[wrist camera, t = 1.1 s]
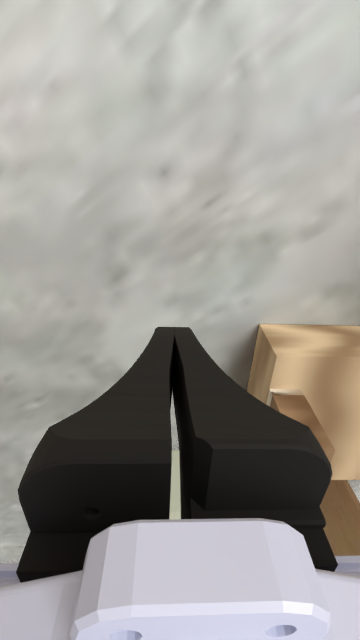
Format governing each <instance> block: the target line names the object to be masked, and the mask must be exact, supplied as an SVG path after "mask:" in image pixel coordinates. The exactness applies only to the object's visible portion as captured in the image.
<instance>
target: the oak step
mask: <svg viewBox="0 0 360 640" xmlns="http://www.w3.org/2000/svg"><path fill="white" fill-rule="evenodd" d="M270 389H301V390H302V392H303V394H304V396H305V397H306V399H307V401H308V403H309V404H310V406H311V408H312V410H313V412H314V413H315V415H316V417H317V419H318V420H319V422H320V424H321V426H322V428H323V429H324V431H325V433H326V435H327V436H328V438H329V440H330V442H331V443H332V445H333V447H334V449H335V453H334V455H333V457H332V460H331V462H330V464H331V468H332V477H331V480H360V326H339V325H283V324H259V329H258V334H257V339H256V345H255V350H254V355H253V360H252V366H251V371H250V376H249V381H248V387H247V392H248V393H250V394H251V395H252V396H254V397H255V398H257V399H258V400H260V401H261V402H263V403H265V404H266V403H267V399H268V395H269V391H270Z"/></svg>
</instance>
